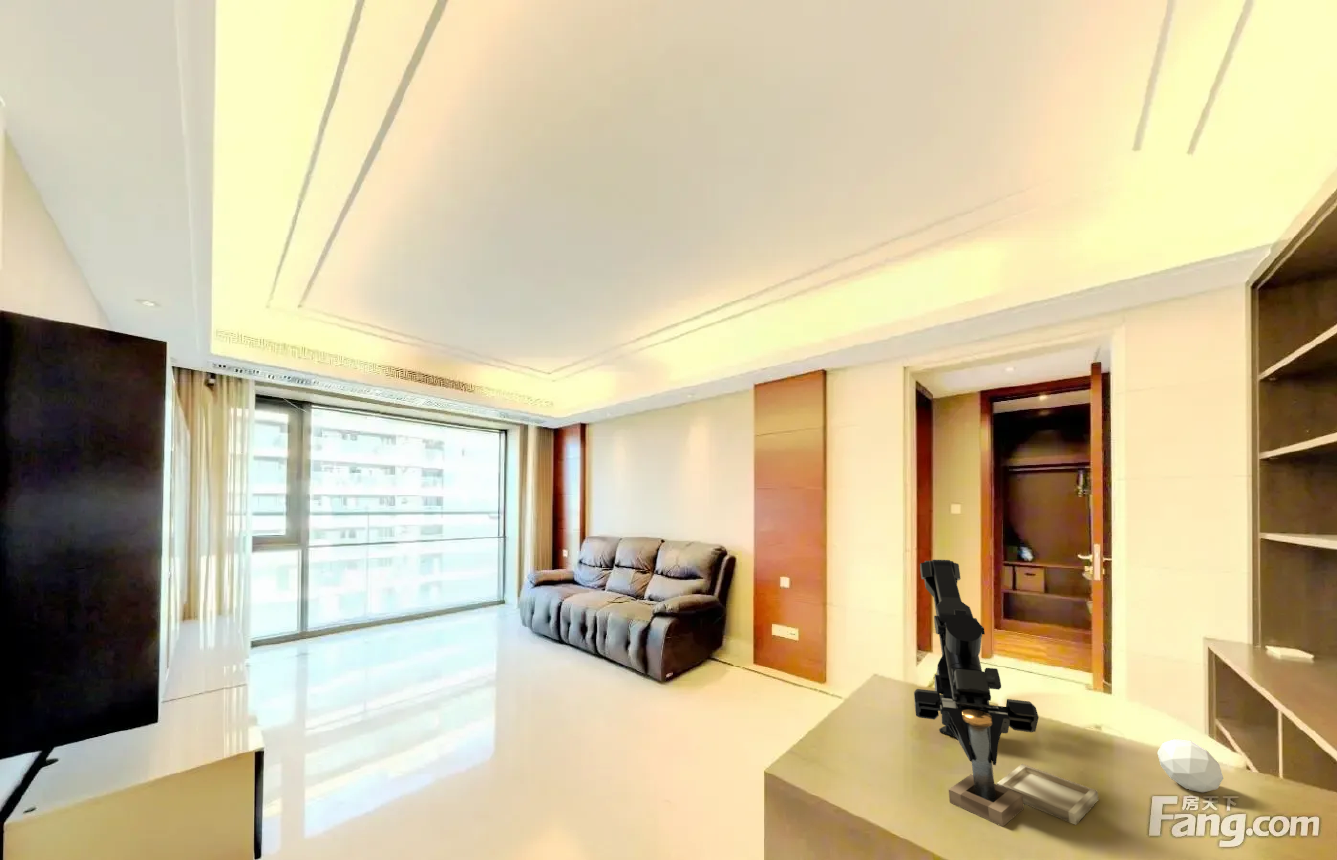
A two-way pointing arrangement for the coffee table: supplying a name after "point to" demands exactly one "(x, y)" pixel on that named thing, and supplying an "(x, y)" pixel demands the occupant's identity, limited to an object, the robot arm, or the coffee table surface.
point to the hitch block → (987, 802)
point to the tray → (1051, 793)
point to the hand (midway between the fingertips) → (982, 762)
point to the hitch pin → (981, 752)
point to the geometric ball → (1190, 765)
